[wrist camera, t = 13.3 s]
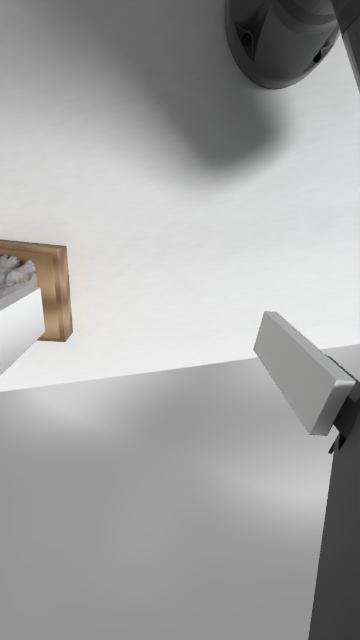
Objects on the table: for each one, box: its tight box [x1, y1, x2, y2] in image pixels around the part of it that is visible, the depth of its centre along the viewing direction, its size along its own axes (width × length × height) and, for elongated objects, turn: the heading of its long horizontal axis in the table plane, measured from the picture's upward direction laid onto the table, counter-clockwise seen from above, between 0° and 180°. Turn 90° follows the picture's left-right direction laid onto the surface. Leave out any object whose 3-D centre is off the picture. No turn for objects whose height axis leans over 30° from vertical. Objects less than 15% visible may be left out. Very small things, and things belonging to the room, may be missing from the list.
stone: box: [0, 254, 38, 299], centre depth 34 cm, size 8×12×7 cm, turn 170°
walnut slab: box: [0, 240, 73, 342], centre depth 40 cm, size 16×12×4 cm
